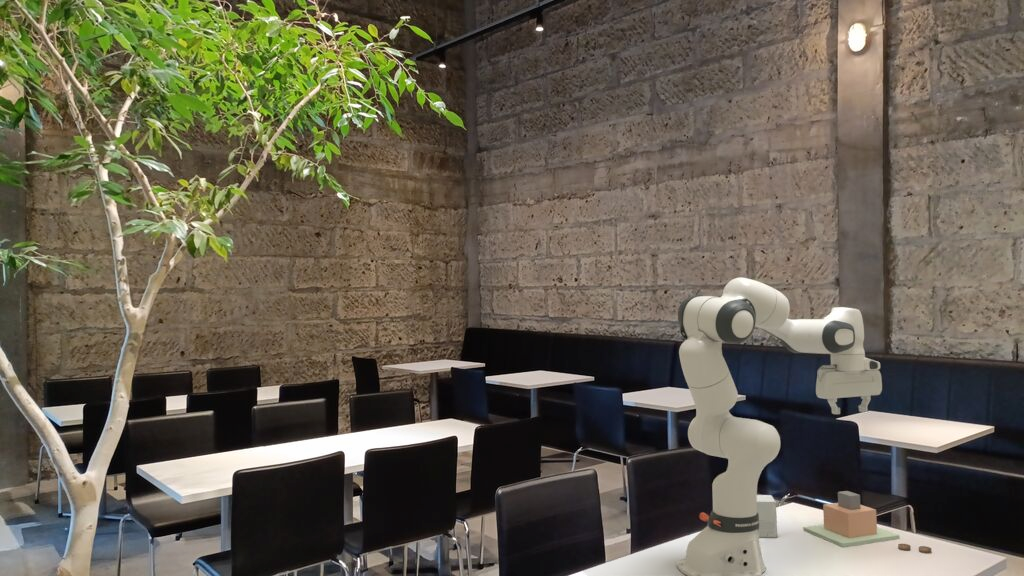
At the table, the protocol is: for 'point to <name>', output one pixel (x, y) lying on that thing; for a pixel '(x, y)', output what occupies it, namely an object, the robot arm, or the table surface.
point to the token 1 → (904, 547)
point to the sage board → (845, 542)
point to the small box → (767, 516)
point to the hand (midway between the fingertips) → (849, 412)
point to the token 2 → (925, 549)
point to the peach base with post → (849, 516)
